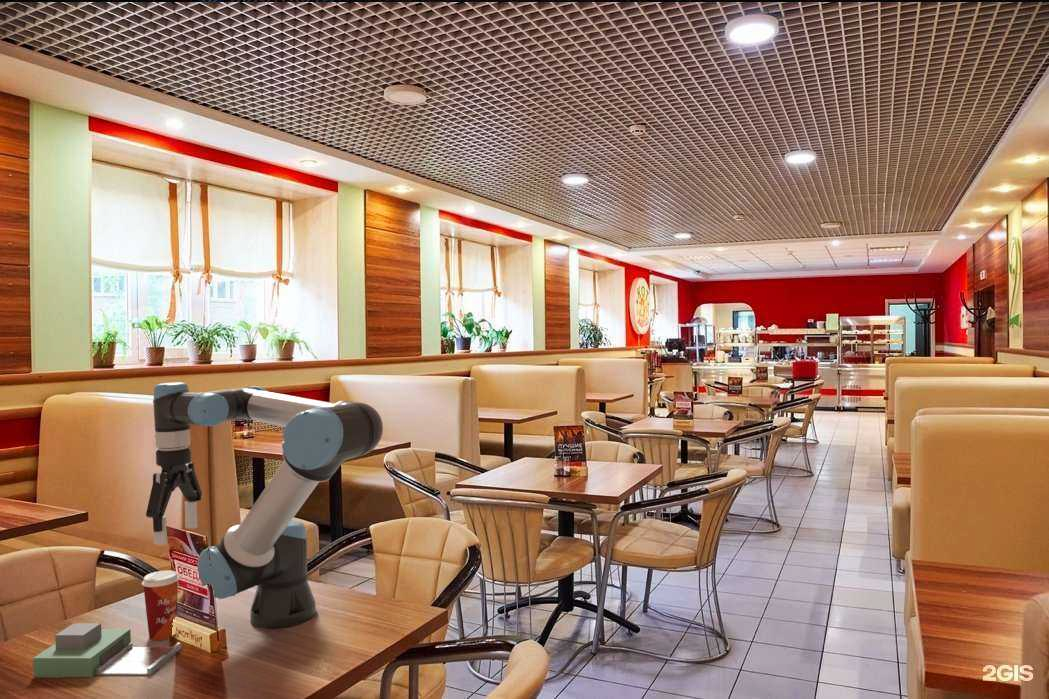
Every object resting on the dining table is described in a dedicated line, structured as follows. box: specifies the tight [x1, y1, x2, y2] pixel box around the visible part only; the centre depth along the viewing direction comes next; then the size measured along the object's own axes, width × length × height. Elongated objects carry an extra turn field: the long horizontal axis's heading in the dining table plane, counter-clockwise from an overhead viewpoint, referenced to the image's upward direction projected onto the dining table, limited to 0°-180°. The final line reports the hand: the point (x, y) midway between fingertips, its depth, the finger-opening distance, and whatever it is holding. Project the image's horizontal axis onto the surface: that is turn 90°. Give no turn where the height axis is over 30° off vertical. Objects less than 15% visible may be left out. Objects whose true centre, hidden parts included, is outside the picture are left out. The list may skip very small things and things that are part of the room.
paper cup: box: [141, 570, 180, 641], centre depth 169 cm, size 8×8×14 cm
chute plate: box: [94, 642, 182, 676], centre depth 156 cm, size 12×12×1 cm
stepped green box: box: [32, 622, 132, 679], centre depth 156 cm, size 12×14×7 cm
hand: (176, 536), depth 176 cm, fingers open, 13 cm apart
